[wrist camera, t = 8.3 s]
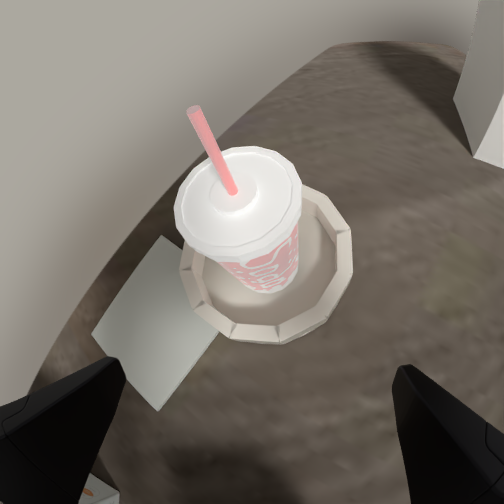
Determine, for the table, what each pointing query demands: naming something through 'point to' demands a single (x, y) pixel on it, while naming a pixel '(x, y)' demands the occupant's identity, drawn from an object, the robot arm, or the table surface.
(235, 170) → the beverage cup
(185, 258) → the bowl
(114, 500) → the small box
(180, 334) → the mat
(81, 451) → the robot arm
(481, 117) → the milk
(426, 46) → the table surface
